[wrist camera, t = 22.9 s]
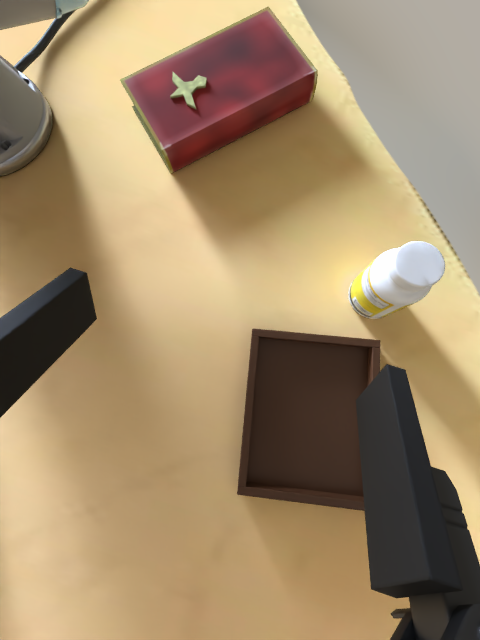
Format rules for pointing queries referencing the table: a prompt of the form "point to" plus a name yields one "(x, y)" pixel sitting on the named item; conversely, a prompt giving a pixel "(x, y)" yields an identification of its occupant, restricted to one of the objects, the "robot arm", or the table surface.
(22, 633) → the table surface
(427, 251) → the supplement bottle
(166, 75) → the hardcover book
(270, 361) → the tray
